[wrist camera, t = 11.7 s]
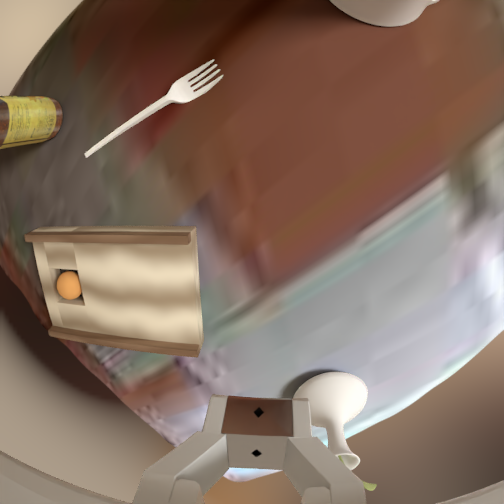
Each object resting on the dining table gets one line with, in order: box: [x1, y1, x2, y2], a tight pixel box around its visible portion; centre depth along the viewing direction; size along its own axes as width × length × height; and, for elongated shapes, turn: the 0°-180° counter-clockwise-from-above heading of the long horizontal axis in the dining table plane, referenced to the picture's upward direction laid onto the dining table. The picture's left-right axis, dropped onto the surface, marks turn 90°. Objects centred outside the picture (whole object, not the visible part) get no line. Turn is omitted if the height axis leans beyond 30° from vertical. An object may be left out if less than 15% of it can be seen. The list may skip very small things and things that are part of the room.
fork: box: [85, 59, 223, 158], centre depth 34 cm, size 3×20×2 cm, turn 116°
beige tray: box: [24, 226, 204, 357], centre depth 40 cm, size 16×24×4 cm, turn 90°
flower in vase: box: [293, 372, 377, 491], centre depth 34 cm, size 13×11×25 cm
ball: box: [57, 271, 82, 300], centre depth 40 cm, size 4×4×4 cm
